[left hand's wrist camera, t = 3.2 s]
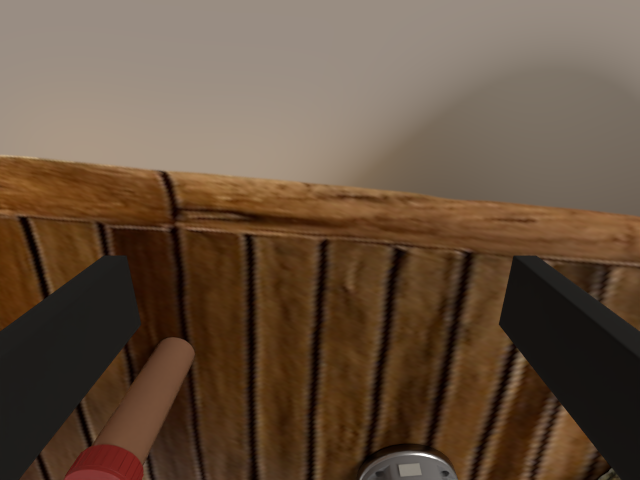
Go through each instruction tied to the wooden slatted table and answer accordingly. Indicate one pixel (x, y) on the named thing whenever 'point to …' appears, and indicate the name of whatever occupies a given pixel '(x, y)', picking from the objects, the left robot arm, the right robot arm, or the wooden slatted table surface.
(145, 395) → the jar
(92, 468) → the lid
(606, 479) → the fossil
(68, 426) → the wooden slatted table surface
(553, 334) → the left robot arm
